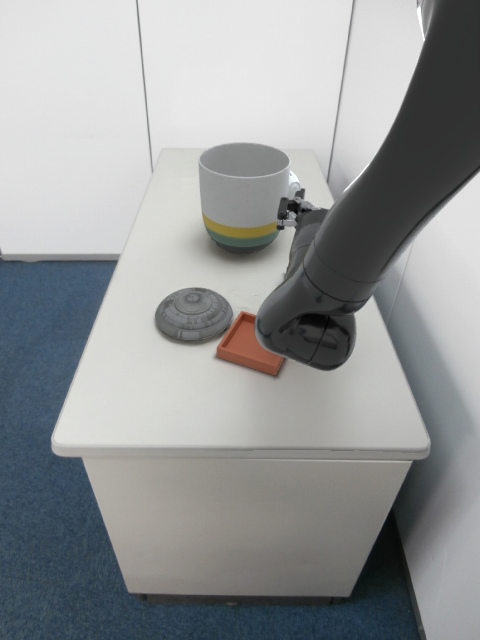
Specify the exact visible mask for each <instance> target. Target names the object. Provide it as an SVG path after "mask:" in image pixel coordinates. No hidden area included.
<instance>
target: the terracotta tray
mask: <svg viewBox="0 0 480 640" xmlns="http://www.w3.org/2000/svg"><path fill="white" fill-rule="evenodd" d="M256 315H257V314H255V313H252V312H251V313H250V312H248V311H244V310H241V311H240V312H239V313H238V315H237V317H236V318H235V320H234V321H233V322H232V324H231V325H230V327H229V329H228V330H227V332H226V333H225V334H224V336H223V337H222V339H221V341H220V342H219V343H218V345H217V346H216V358H219V359H223V360H226V361H229V362H231V363H235V364H238V365H241V366H244V367H247V368H251V369H254V370H257V371H258V372H259V371H260V372H262V373H266V374H269V375H272V376H275V377H276V376H277V374H278V372H279V370H280V369H281V366H282V365H283V362H284V360H285V359H286V358H285V357H283V356H280V355H277V354H274V353H272V352H269V351H267V350H266V349H264V348H263V347H262V346H261V345H260V344H259V342H258V341H257V339H256V336H255V332H254V322H255V318H256Z"/></svg>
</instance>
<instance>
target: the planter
mask: <svg viewBox="0 0 480 640" xmlns="http://www.w3.org/2000/svg"><path fill="white" fill-rule="evenodd" d="M197 160H198V180H199V197H200V208H201V216H202V217H201V218H202V221H203V226H204V228H205V230H206V233H207V235H208V237H210V239H211V241H213V242H214V243H215V244H216V245H217V246H218V247H220V248H221V249H222V250H225V251H228V252H230V253H233V254H238V255H240V254H241V255H246V254H247V255H248V254H253V253H256V252H257V253H258V252H260V251H261V250H264V249H265V248H267V247H268V246H269V245H270V244H272V243H273V242H274V241H275V239H277V237H278V235H279V233H280V231H281V230H277V229H276V225H277V213H278V208H279V204H280V199H281V198H282V197H287V194H288V185H289V175H290V171H291V166H292V165H291V164H292V161H291V158H290V156H289V154H287V153H286V152H285V151H284V150H282V149H280V148H278V147H274V146H272V145H269V144H263V143H257V142H249V141H247V142H246V141H244V142H242V141H241V142H240V141H239V142H226V143H220V144H217V145H213V146H210V147H208V148H206V149H205V150H203V151H202V152H201V153H200V154H199V156H198V159H197Z"/></svg>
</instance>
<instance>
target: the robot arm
mask: <svg viewBox="0 0 480 640" xmlns="http://www.w3.org/2000/svg"><path fill="white" fill-rule="evenodd" d="M415 6H416V7H415V8H416V12H417V17H418V21H419V26H420V29H421V34H422V38H423V43H422V46H421V49H420V52H419V55H418V58H417V60H416V63H415V67H414V69H413V72H412V75H411V78H410V80H409V83H408V86H407V89H406V91H405V94H404V96H403V98H402V100H401V104H400V106H399V109H398V111H397V114H396V116H395V118H394V120H393V122H392V124H391V126H390V128H389V130H388V132H387V134H386V136H385V137H384V139H383V141H382V143H381V145H380V146H379V148H378V150H377V151H376V152H375V154H374V155H373V157H372V159H371V160H370V161H369V162H368V164H367V165H366V166H365V168H364V169H363V170H361V172H360V174H359V175H357V177H356V178H355V179H354V180H353V181H352V182H351V183H350V184H349V185H348V186H347V187H346V188H345V189H344V190H343V191H342V193H340V195H338V197H337V199H335V201H334V202H333V204H332V205H331V206H330V208H324V207H321V206H320V207H319V206H315V204H313V203H311V202H310V201H309V200H305V198H306V197H305V196H306V188H305V187H301V190H300V191H296V193H295V196H294V197H293V199H292V200H289V199H288V198H287V197H282V198H281V199H280V204H279V208H278V213H277V225H276V229H277V230H280V231H284V230H285V228H286V227H292V228H293V227H294V229H295V230H294V235H293V239H292V242H291V245H290V248H289V255H288V264H287V267H288V268H287V267H286V270H287V271H285V275H284V279H283V281H282V282H280V283H279V284H278V285H277V287H275V288H274V289H273V290H272V291H271V292H270V293H269V294H268V295H267V297H266V298H265V299H264V300H263V302H262V303H261V304H260V306H259V308H258V310H257V312H256V314H255V315H256V318H255V322H254V332H255V336H256V339H257V341H258V342H259V344H260V345H261V346H262V347H263V348H264V349H266V350H267V351H269V352H272V353H274V354H277V355H280V356H283V357H285V358H284V359H288V360H291V361H293V362H296V363H298V364H302V365H303V366H304V365H305V366H307V367H309V368H311V369H314V370H317V371H322V372H331V371H332V372H333V371H335V370H337V369H339V368H341V367H342V366H343V365H344V364H346V363H347V362H348V361H349V359H350V357H351V356H352V354H353V351H354V350H355V347H356V341H357V319H356V315H355V314H356V313H358V312H359V311H360V310H361V309H363V307H365V306H366V304H367V303H368V302H369V300H370V299H371V298H372V296H373V295H374V294H375V292H376V291H377V289H378V288H379V287H380V286H381V285H382V283H383V281H384V280H385V279H386V277H388V275H389V273H390V272H391V271H392V270H393V268H394V267H395V266H396V264H397V263H398V261H399V260H400V259H401V257H402V256H403V255H404V253H405V252H406V251H407V250H408V248H409V247H410V246H411V245H412V243H413V242H414V241H415V240H416V239H417V237H418V236H419V235H420V234H421V233H422V231H424V229H425V228H426V227H427V226H428V225H429V224H430V223H431V222H432V221H433V220H434V218H436V216H437V215H438V214H439V213H441V211H442V210H443V209H444V208H445V207H446V206H447V205H448V204H449V203H450V202H451V201H452V200H453V199H454V198H455V197H456V196H457V195H458V194H459V193H460V192H461V191H462V190H463V189H464V188H465V187H466V186H467V185H468V184H469V183H470V182H471V181H472V180H473V179H475V178H476V176H478V175H479V174H480V0H415ZM289 212H291V213H292V214H293V215H294V216H295V218H293V217H292V216H291V214H289Z"/></svg>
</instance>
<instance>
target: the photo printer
mask: <svg viewBox="0 0 480 640" xmlns="http://www.w3.org/2000/svg"><path fill="white" fill-rule="evenodd" d="M301 188H302V186H301V183H300V180H299V178H298V177H297V175H296V174H295V173H294V172H293V171H292V170H290V175H289V185H288V194H287V198H288V199H289V200H292V199H293V197H294V196H295V193H296V191H300V190H301ZM289 214H291V216H292V217H293V218H295V216H294V215H293V214H292V213H291V212H289Z"/></svg>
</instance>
